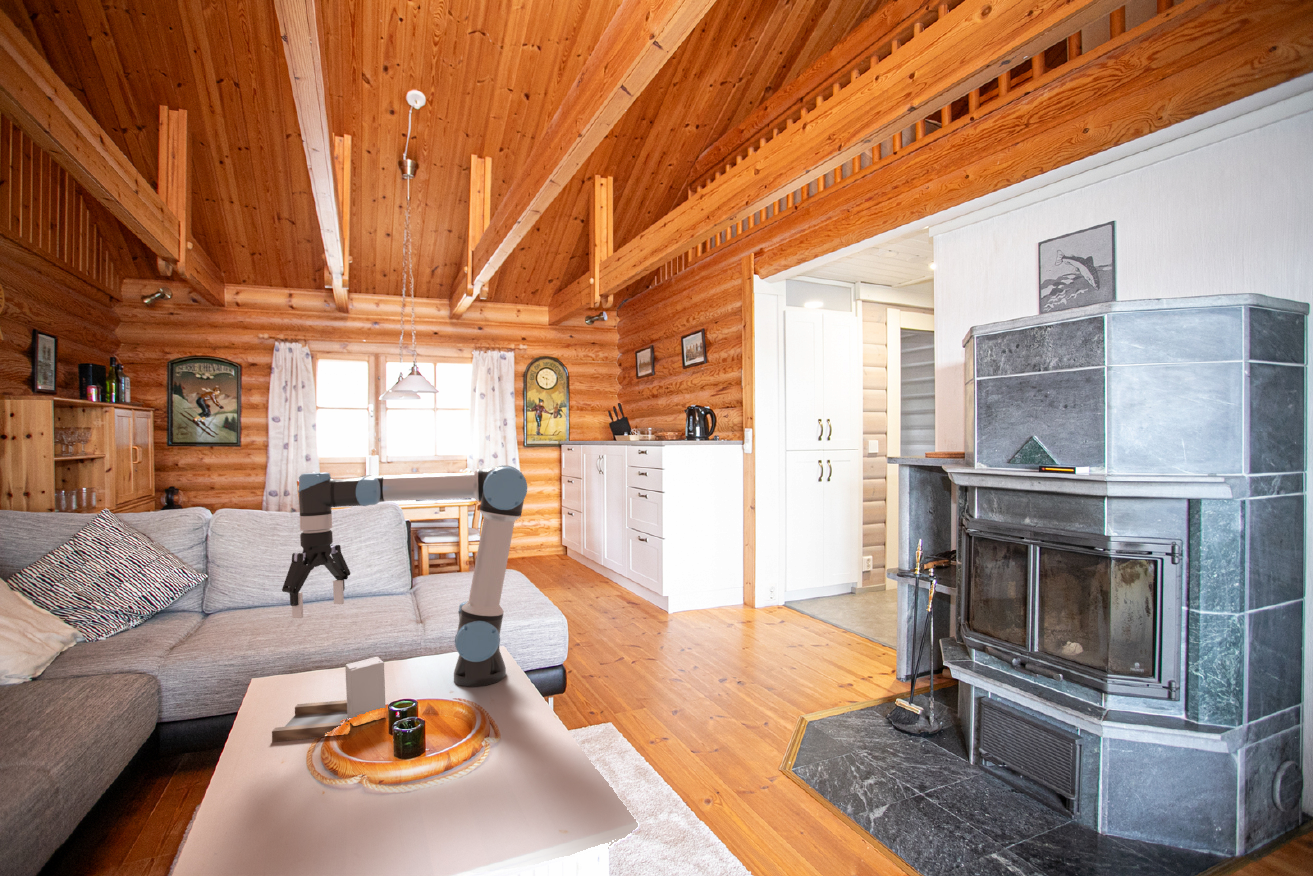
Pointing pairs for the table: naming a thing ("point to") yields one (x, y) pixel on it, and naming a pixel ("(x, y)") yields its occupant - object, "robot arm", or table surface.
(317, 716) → the u rest
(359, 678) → the skincare box
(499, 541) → the robot arm
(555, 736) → the table surface
